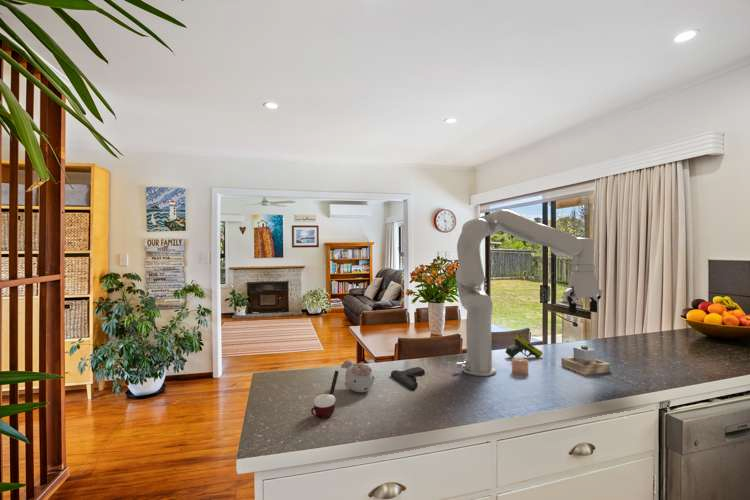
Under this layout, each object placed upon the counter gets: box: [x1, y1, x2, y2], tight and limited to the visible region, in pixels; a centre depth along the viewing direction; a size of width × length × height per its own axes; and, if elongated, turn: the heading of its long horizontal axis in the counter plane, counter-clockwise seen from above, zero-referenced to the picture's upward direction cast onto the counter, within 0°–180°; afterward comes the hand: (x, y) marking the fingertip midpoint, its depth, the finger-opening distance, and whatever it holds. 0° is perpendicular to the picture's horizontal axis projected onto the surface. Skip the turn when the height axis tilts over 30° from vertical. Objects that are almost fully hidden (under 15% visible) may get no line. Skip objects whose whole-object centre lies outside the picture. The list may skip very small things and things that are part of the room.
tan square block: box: [511, 357, 529, 376], centre depth 150 cm, size 6×6×5 cm
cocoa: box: [310, 370, 339, 419], centre depth 115 cm, size 10×6×12 cm, turn 110°
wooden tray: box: [560, 356, 611, 376], centre depth 154 cm, size 12×12×3 cm
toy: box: [340, 359, 375, 393], centre depth 137 cm, size 10×15×10 cm, turn 27°
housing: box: [572, 345, 597, 365], centre depth 154 cm, size 6×5×7 cm
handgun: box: [390, 366, 426, 391], centre depth 144 cm, size 2×18×13 cm
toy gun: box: [505, 334, 543, 359], centre depth 171 cm, size 2×14×10 cm
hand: (583, 312), depth 154 cm, fingers open, 9 cm apart
